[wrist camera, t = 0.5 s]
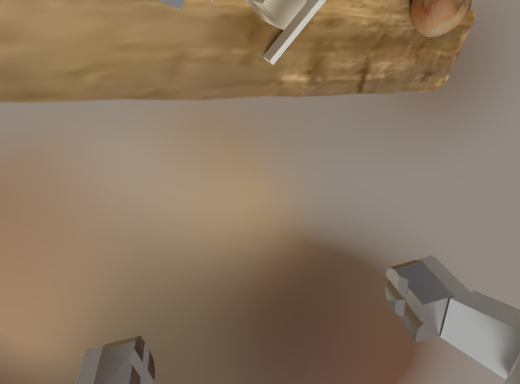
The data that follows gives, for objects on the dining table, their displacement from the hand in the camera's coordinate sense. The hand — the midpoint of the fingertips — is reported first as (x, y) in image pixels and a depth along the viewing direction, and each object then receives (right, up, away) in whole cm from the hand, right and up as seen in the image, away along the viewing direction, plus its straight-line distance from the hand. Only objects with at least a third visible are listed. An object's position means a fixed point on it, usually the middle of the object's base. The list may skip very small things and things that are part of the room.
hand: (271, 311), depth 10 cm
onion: (+31, +41, +52) cm, 73 cm away
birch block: (0, +35, +40) cm, 53 cm away
